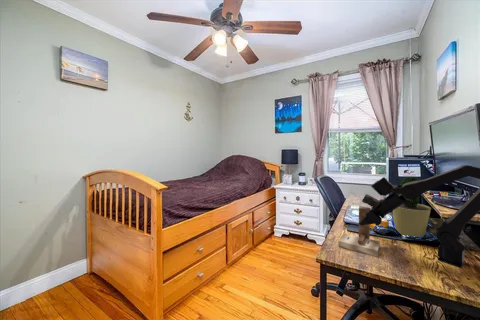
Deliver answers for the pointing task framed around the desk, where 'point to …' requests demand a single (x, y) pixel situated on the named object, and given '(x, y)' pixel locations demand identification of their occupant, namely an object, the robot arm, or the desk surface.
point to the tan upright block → (363, 229)
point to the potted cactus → (411, 216)
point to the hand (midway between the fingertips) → (360, 223)
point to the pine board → (352, 243)
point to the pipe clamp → (383, 223)
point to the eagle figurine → (431, 230)
